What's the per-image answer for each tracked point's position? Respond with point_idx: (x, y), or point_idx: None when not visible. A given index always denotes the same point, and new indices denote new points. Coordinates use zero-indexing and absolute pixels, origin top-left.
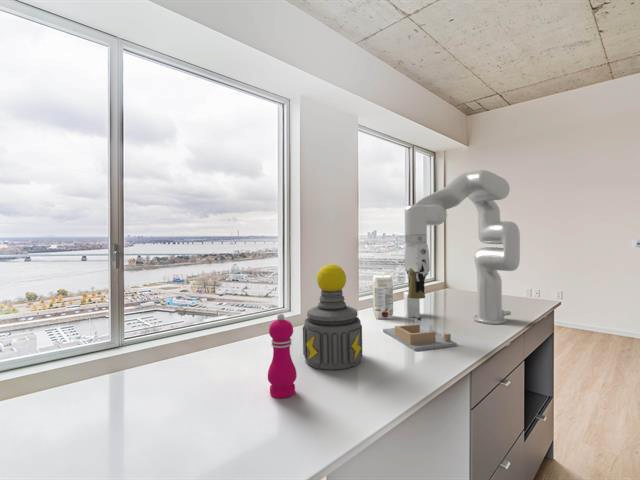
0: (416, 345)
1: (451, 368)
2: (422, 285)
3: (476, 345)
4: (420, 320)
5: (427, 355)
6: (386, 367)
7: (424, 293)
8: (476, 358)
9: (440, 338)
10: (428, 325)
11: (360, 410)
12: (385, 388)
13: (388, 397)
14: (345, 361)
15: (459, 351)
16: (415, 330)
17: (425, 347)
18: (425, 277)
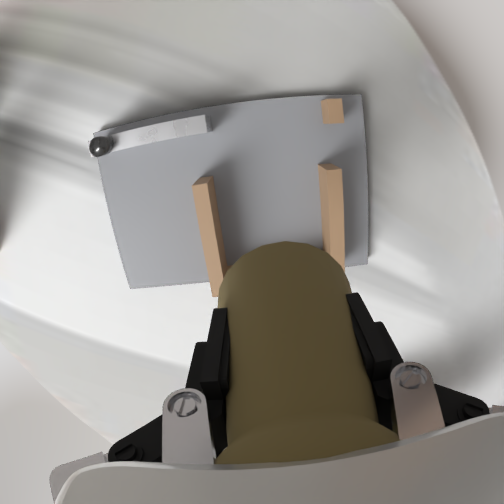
0: (347, 248)
1: (489, 225)
2: (393, 352)
3: (364, 28)
4: (116, 142)
5: (408, 239)
6: (425, 353)
7: (334, 273)
8: (464, 117)
9: (293, 120)
10: (198, 133)
11: (496, 392)
12: (481, 365)
13: (498, 364)
14: None
15: (408, 122)
16: (214, 200)
17: (367, 223)
18: (467, 395)
